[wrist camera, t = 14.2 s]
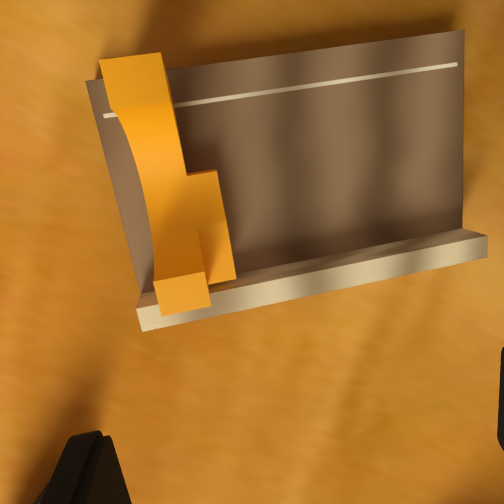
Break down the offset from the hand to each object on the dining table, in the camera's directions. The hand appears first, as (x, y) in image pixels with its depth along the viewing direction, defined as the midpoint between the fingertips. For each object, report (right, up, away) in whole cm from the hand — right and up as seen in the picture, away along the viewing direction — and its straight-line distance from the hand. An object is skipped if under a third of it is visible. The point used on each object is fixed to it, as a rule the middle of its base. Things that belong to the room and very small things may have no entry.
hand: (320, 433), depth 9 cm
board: (+1, +10, +18) cm, 21 cm away
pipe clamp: (-6, +9, +15) cm, 19 cm away
